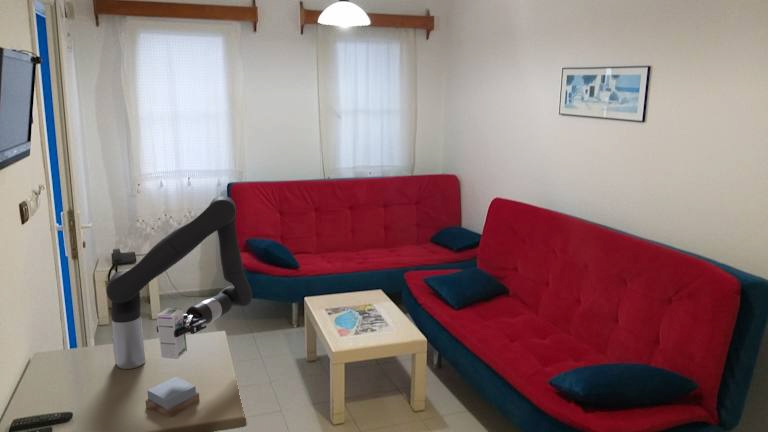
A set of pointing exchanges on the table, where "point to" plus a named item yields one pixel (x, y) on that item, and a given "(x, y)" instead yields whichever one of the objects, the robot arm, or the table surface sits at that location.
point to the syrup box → (171, 333)
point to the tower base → (173, 410)
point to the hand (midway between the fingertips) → (166, 332)
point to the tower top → (171, 392)
